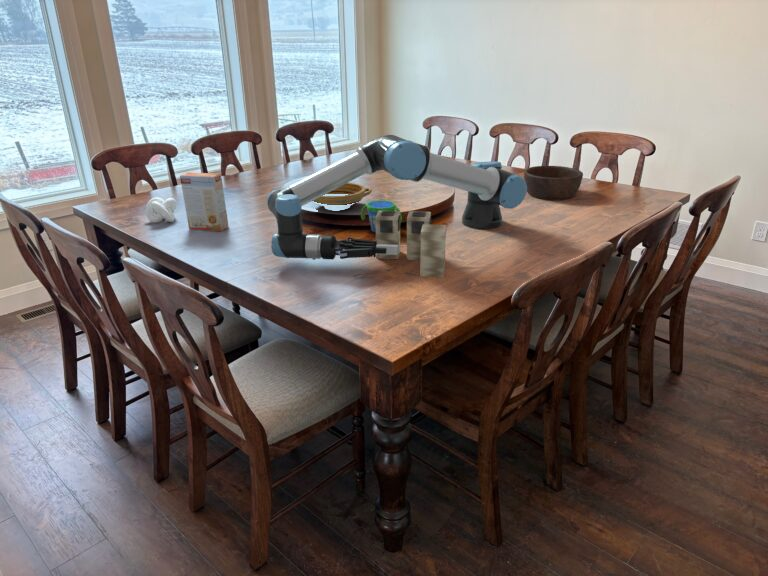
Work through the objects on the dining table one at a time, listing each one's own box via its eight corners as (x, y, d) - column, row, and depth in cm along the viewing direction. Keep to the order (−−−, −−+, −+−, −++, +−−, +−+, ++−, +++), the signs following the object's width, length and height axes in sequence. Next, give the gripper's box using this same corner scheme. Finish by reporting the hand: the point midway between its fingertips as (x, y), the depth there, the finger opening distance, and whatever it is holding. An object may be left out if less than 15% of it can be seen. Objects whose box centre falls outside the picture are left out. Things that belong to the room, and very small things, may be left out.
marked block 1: (430, 252, 184) (431, 211, 178) (429, 260, 178) (430, 217, 172) (409, 251, 185) (409, 210, 179) (406, 259, 179) (406, 217, 173)
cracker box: (229, 227, 212) (221, 173, 203) (221, 232, 207) (213, 176, 198) (197, 224, 215) (188, 171, 207) (188, 229, 210) (179, 175, 201)
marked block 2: (401, 251, 186) (400, 210, 180) (398, 259, 179) (398, 216, 173) (379, 250, 187) (378, 209, 181) (376, 258, 180) (375, 216, 174)
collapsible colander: (366, 197, 247) (366, 179, 244) (377, 213, 226) (377, 193, 222) (300, 202, 242) (298, 184, 238) (304, 218, 220) (303, 199, 217)
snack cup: (406, 229, 206) (406, 203, 202) (393, 238, 198) (392, 210, 193) (370, 223, 213) (369, 197, 209) (356, 231, 205) (355, 205, 200)
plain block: (444, 268, 172) (446, 225, 166) (443, 276, 166) (444, 232, 160) (422, 267, 173) (422, 224, 167) (420, 275, 167) (420, 231, 161)
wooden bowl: (587, 201, 235) (591, 178, 231) (528, 202, 236) (530, 178, 232) (570, 187, 258) (573, 165, 254) (517, 187, 259) (518, 165, 254)
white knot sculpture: (167, 214, 228) (163, 193, 225) (187, 218, 223) (183, 197, 219) (143, 222, 220) (139, 200, 216) (164, 226, 214) (159, 204, 210)
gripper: (327, 250, 178) (400, 253, 175) (317, 266, 167) (395, 269, 163) (326, 228, 175) (400, 231, 172) (315, 242, 164) (394, 245, 160)
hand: (397, 249), depth 168 cm, fingers closed
